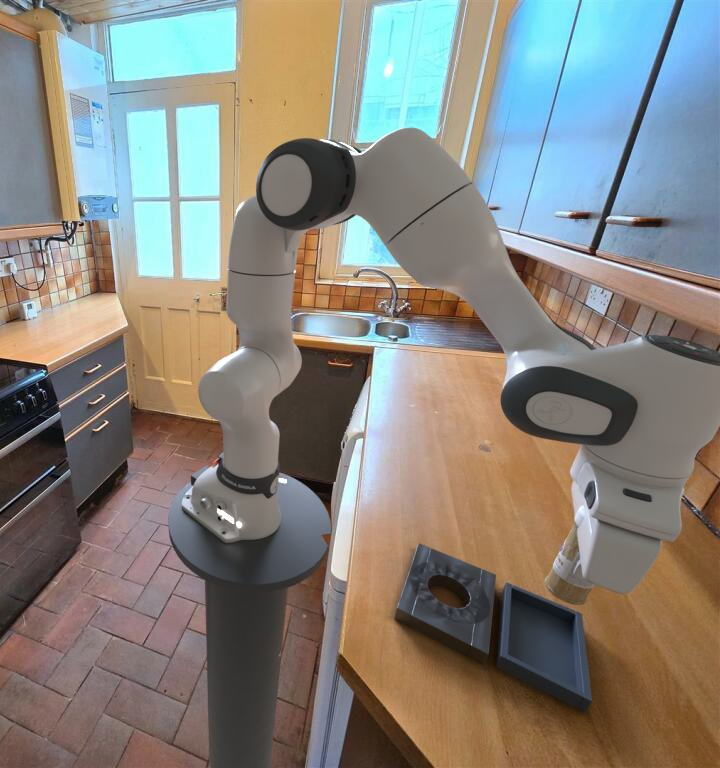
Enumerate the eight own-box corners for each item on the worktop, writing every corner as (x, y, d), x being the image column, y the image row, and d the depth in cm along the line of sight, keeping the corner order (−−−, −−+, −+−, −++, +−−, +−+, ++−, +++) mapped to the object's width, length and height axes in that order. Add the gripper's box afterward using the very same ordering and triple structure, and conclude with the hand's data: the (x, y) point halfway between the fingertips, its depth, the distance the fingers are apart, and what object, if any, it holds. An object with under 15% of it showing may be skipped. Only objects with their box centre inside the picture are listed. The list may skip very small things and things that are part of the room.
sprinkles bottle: (542, 572, 58) (577, 498, 52) (584, 588, 55) (625, 512, 50) (544, 595, 54) (581, 519, 49) (588, 613, 52) (633, 535, 46)
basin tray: (495, 666, 57) (500, 655, 56) (501, 592, 68) (506, 581, 67) (584, 712, 52) (592, 701, 51) (576, 624, 63) (582, 613, 61)
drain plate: (394, 618, 64) (397, 607, 63) (415, 552, 75) (418, 542, 74) (483, 665, 57) (488, 654, 56) (492, 585, 69) (496, 574, 68)
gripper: (580, 429, 56) (546, 506, 62) (597, 514, 41) (551, 606, 47) (643, 443, 53) (601, 523, 59) (687, 542, 38) (625, 637, 44)
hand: (579, 561), depth 53 cm, fingers closed on sprinkles bottle, 4 cm apart
